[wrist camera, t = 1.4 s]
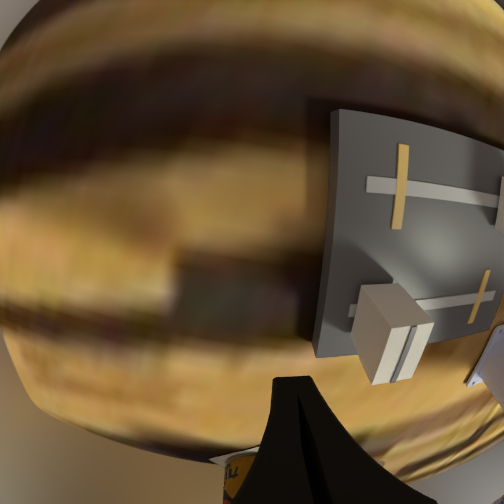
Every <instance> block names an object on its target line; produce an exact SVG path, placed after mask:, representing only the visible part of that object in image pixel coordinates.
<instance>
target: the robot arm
mask: <svg viewBox="0 0 504 504" xmlns="http://www.w3.org/2000/svg"><path fill="white" fill-rule="evenodd" d="M480 382H484V383H485V384H486V386H487V387H488V388H489V390H490V391H491V393H492V394H493V395H494V397H495V398H496V400H497V401H498V403H499V404H500V406H501V407H502V408H503V410H504V324H503V325H500V326H497V327H496V328H495V329H494V331H493V333H492V335H491V337H490V339H489V341H488V344H487V346H486V348H485V350H484V352H483V354H482V356H481V358H480V360H479V361H478V363H477V365H476V367H475V369H474V371H473V372H472V374H471V376H470V378H469V379H468V381H467V383H466V386H467V387H471V386H473V385H476V384H478V383H480ZM270 409H271V410H270V414H269V418H268V422H267V426H266V429H265V432H264V435H263V438H262V441H261V444H260V447H259V449H258V452H257V454H256V456H255V459H254V461H253V463H252V465H251V467H250V469H249V471H248V473H247V475H246V477H245V479H244V481H243V483H242V485H241V487H240V488H239V490H238V492H237V493H236V495H235V497H234V498H233V500H232V501H231V503H230V504H438V503H437V501H435V500H434V499H431V498H429V497H427V496H425V495H423V494H422V493H420V492H418V491H416V490H414V489H413V488H411V487H410V486H408V485H406V484H405V483H403V482H402V481H400V480H399V479H398V478H396V477H395V476H394V475H392V474H391V473H390V472H388V471H387V470H386V469H384V468H383V467H382V466H380V465H379V464H378V463H377V462H376V461H375V460H374V459H373V458H372V457H371V456H370V455H369V454H368V453H366V452H365V451H364V450H363V449H362V448H361V446H360V445H359V444H358V443H357V442H356V441H355V440H354V439H353V438H352V436H351V435H350V434H349V433H348V432H347V430H346V429H345V428H344V427H343V425H342V424H341V423H340V422H339V420H338V419H337V417H336V416H335V415H334V413H333V412H332V410H331V409H330V408H329V406H328V405H327V403H326V401H325V400H324V398H323V397H322V395H321V393H320V392H319V390H318V388H317V387H316V385H315V383H314V381H313V379H312V377H310V376H294V377H276V378H274V379H273V383H272V396H271V408H270ZM492 504H504V495H503V496H502V497H500V498H499V499H497V500H496V501H495V502H493V503H492Z"/></svg>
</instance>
